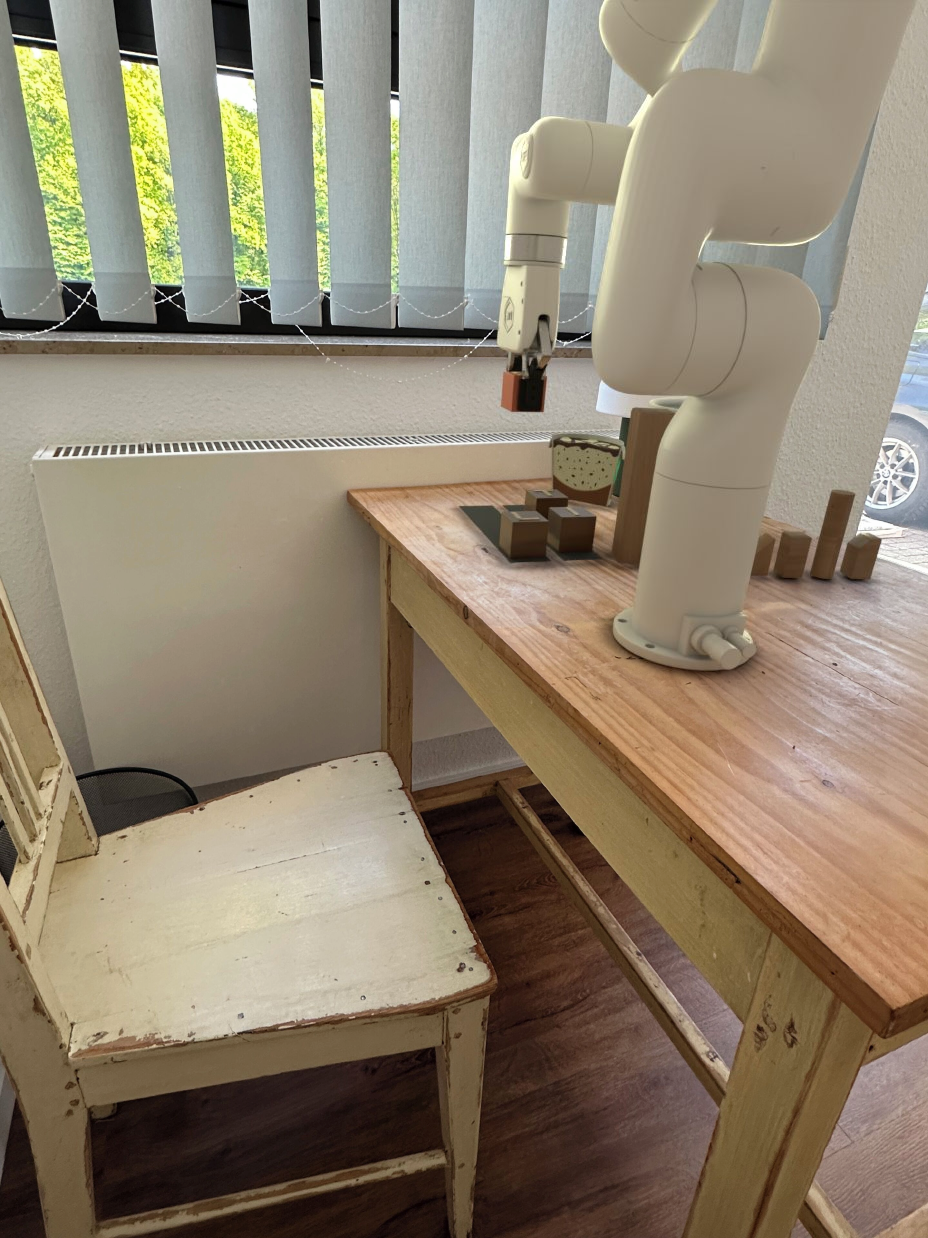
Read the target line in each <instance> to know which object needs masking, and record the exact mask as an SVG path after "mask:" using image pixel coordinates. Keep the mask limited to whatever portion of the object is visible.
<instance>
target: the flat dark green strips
mask: <svg viewBox="0 0 928 1238" xmlns="http://www.w3.org/2000/svg"><path fill="white" fill-rule="evenodd" d="M458 507H459V508H460V510H461V511H462V512H463V513H464V514H465V515H466V516H467V517H468V518H469V519H470V520H471V522H472V523H473V524H474V526H476V527H477V529H479V530H480V532H481V533H482V534H483V535H484V536H485V537H486V538H487V539H488V540H489V542H490V543H491V544H492V545H493V546H494V547H495V548H496V549H497V550H498V551H499V553H500V554H501V555H502V556H503V557H504V558H505V559H506V561H508V563H510V564H520V563H543V562H544V563H545V562H546V563H548V562H552V559H550V557H548V556H547V555H546V557H544V558H518V559H510V558H509V557H508V556H507V555H506V554H505V553H504V552H503V551H502V550H501V548H500V547H499V541H500V527H501V513H502V512H501V511H499V510H498V509H497V508H496V507H495V506H494V505H492V504H491V505H490V504H488V505H487V504H486V505H459V506H458ZM502 507H503V508H504V509H505V510H506V511H507V512H513V511H524V507H525V504H502ZM547 547H548V548H549V549H550V550H551V551H552V552H553V553H554V554H556V555H557V557H559V558H560V559H561V560H562V561H564V562H572V561H574V562H575V561H594V560H595V561H598V560H604V558H603V556H601V555H600V554H598V553H597V552H596V551H595V550H594V549H592V552H567V553H558V552H557V551H556V550H555V549H554V548H552V547H551V546H550V545H549V544H548V543H547Z"/></svg>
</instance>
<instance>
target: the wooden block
mask: <svg viewBox="0 0 928 1238" xmlns="http://www.w3.org/2000/svg"><path fill="white" fill-rule="evenodd" d="M675 414H676V413H674V412H672V411H670V410H668V409H657V408H648V407H638V406H637V407H636V406H635V407H632V408H631V410H630V417H629V422H628V423H629V424H628V432H627V439H626V446H625V459H624V460H623V466H622V467H623V468H622V474H621V481H620V489H619V496H618V503H617V511H616V519H615V525H614V533H613V540H612V548H611V554H612V556H613V558H614V559H615V561H616V562H617V563H618V564H624V565H625V564H626V565H640V559H641V553H642V546H643V540H644V533H645V527H646V521H647V514H648V508H649V501H650V495H651V488H652V484H653V476H654V470H655V465H656V459H657V453H658V449H659V445H660V442H661V439H662V437H663V435H664V432H665V430H666V428H667V427H668V425H669V423H670V421H671V420H672V418H673V417H674V415H675Z"/></svg>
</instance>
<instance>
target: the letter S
mask: <svg viewBox="0 0 928 1238" xmlns="http://www.w3.org/2000/svg"><path fill="white" fill-rule="evenodd" d="M519 379H523V377H522V372H506V371H503V372H502V386H501V400H500V407H501V408H503V409H505V410H507V411H509V412H510V413H521V412H520V411H518V410H517V401H518V389H519ZM547 383H548V376H547V375H546V377H545V380H544V388H543V398H542V409H541V411H540V412H539V413H544V412H545V403H546V392H547Z"/></svg>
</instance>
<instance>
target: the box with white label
mask: <svg viewBox="0 0 928 1238" xmlns="http://www.w3.org/2000/svg"><path fill="white" fill-rule="evenodd" d="M500 513H501V527H500V541H499V547H500V548H501V550H502V551H503V552H504V553H505V554H506V555H507V556H508V557H509V558H510V559H518V558H544V557H546V556H547V555H546V554H547V547H548V546H547V537H548V527H549V521H548V520H547V519H546V518H544V517H543V516H542V515H541V514H539V513H538V512H537V511H513V512H509V511H501V512H500Z"/></svg>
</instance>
